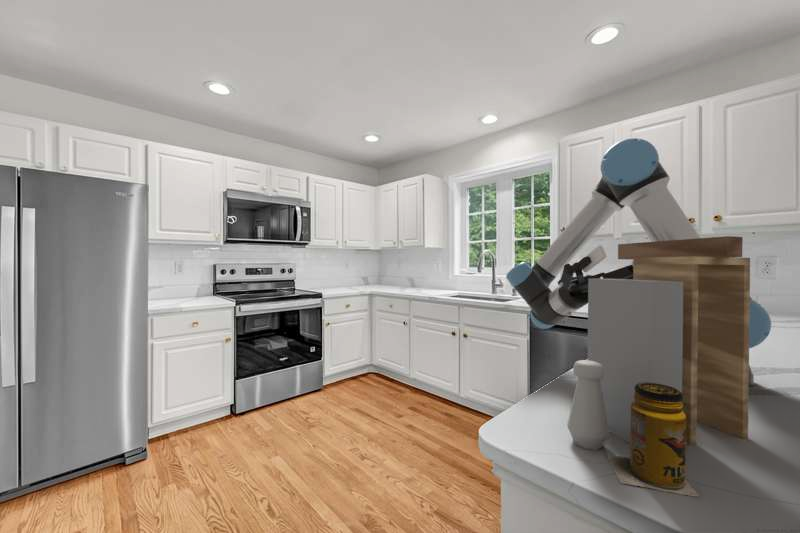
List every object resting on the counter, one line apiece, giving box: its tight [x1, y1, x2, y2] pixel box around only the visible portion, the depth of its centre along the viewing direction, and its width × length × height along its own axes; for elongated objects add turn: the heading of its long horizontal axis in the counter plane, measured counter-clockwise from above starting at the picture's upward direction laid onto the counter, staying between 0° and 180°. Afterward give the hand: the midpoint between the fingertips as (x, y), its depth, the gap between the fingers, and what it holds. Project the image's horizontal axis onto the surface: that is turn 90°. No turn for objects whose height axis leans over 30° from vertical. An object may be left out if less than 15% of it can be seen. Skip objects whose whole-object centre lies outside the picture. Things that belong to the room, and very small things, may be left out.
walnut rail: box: [617, 235, 744, 260], centre depth 67 cm, size 3×21×3 cm, turn 12°
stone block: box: [586, 278, 683, 443], centre depth 61 cm, size 6×13×26 cm, turn 12°
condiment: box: [606, 383, 700, 497], centre depth 48 cm, size 7×8×12 cm
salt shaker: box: [567, 359, 610, 451], centre depth 57 cm, size 6×6×13 cm
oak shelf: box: [632, 256, 751, 446], centre depth 63 cm, size 12×11×30 cm
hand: (630, 251), depth 74 cm, fingers open, 13 cm apart
